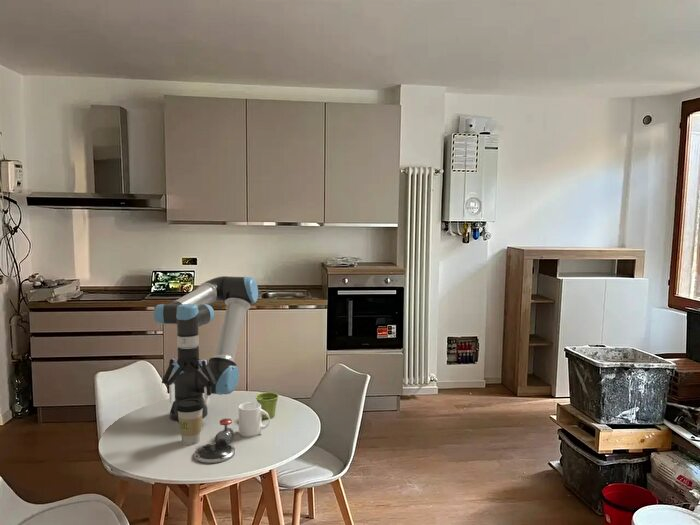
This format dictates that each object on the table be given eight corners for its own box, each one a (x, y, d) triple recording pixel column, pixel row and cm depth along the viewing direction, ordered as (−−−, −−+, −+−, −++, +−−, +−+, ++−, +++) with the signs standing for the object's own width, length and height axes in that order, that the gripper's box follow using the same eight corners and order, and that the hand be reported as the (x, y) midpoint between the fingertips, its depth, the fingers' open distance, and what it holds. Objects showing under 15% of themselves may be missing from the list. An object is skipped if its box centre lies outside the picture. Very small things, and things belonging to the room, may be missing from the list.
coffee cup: (180, 436, 203) (179, 398, 202) (206, 435, 204) (205, 397, 203) (174, 447, 194) (173, 407, 192) (202, 446, 195) (200, 406, 193)
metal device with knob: (210, 439, 202) (210, 417, 201) (246, 441, 200) (245, 419, 199) (187, 464, 182) (186, 439, 182) (226, 467, 180) (225, 442, 180)
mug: (267, 437, 202) (267, 410, 201) (236, 436, 203) (235, 409, 202) (272, 428, 211) (271, 402, 210) (242, 427, 212) (241, 401, 211)
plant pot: (264, 410, 230) (264, 391, 229) (283, 414, 226) (282, 394, 225) (251, 418, 221) (251, 398, 221) (270, 422, 217) (270, 401, 217)
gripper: (151, 347, 194) (152, 404, 195) (216, 350, 190) (217, 408, 192) (161, 342, 201) (162, 397, 203) (224, 345, 197) (225, 400, 199)
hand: (189, 402), depth 197 cm, fingers open, 13 cm apart
